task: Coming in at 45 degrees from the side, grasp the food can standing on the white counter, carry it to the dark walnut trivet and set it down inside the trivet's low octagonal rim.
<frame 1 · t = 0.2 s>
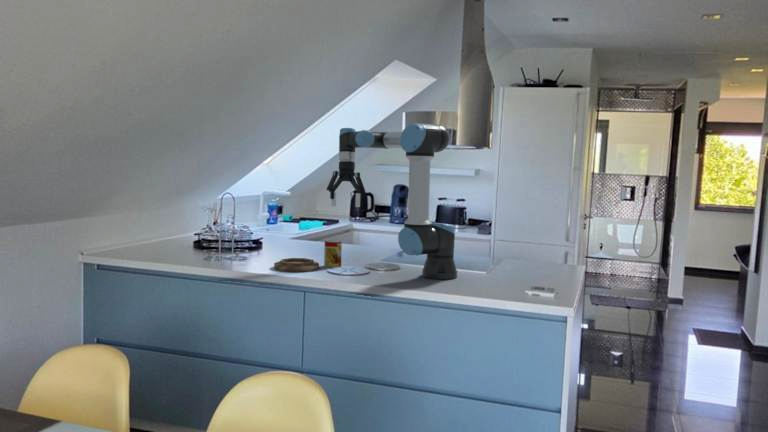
hand: (345, 206, 294), 27 cm above the countertop, tool pointing down, fingers open, 13 cm apart
hub trivet: (296, 268, 282), on the countertop
pottery mug: (441, 262, 310), on the countertop
canned food: (332, 266, 289), on the countertop
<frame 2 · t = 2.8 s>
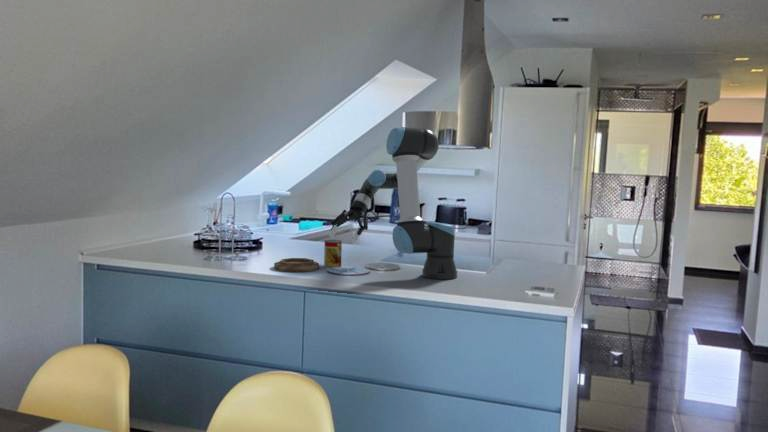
hand: (342, 238, 295), 12 cm above the countertop, tool tilted 45°, fingers open, 13 cm apart
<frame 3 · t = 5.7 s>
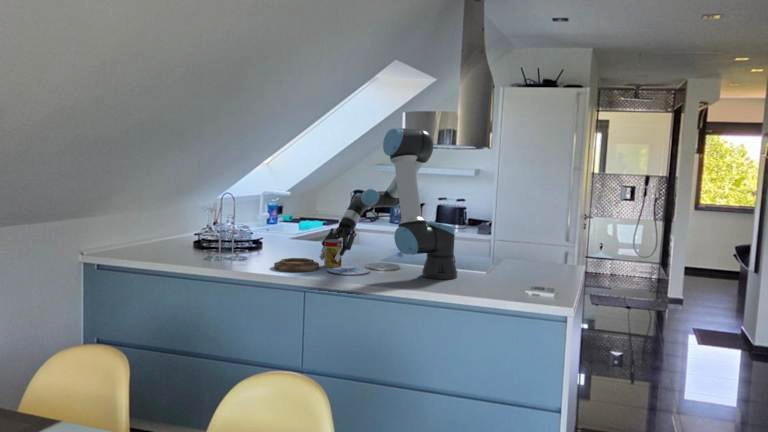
hand: (328, 259, 286), 4 cm above the countertop, tool tilted 45°, fingers closed on canned food, 8 cm apart
canned food: (332, 266, 289), on the countertop, touching gripper
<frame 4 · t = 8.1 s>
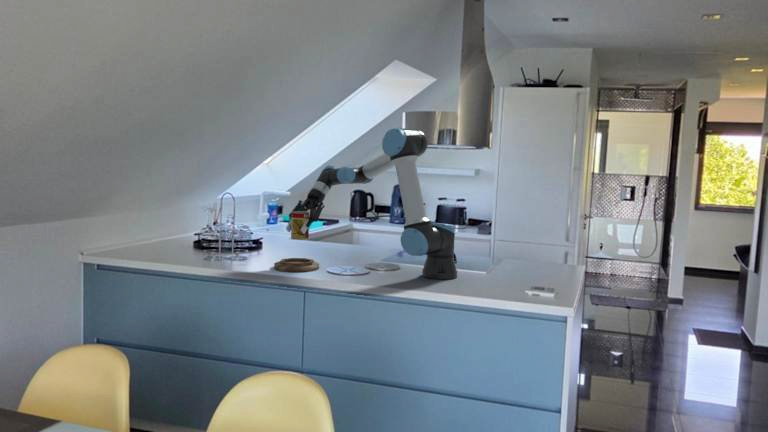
hand: (294, 231, 279), 17 cm above the countertop, tool tilted 45°, fingers closed on canned food, 8 cm apart
canned food: (299, 238, 283), point 13 cm above the countertop, touching gripper
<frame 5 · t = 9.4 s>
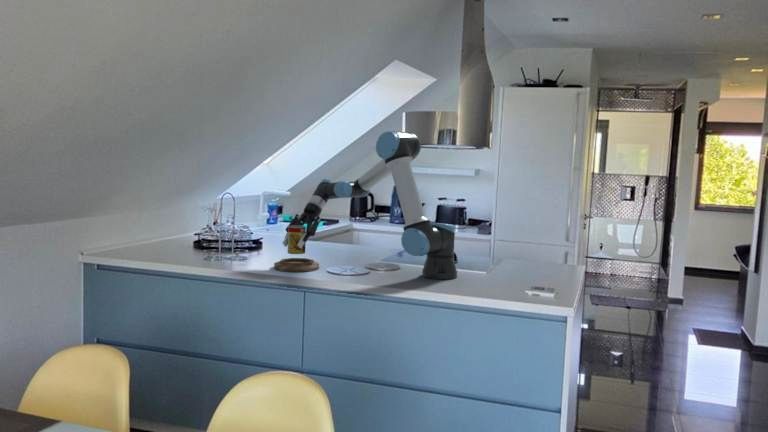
hand: (291, 245, 279), 11 cm above the countertop, tool tilted 45°, fingers closed on canned food, 8 cm apart
canned food: (296, 253, 282), point 7 cm above the countertop, touching gripper
when the fingers open (7 cm above the countertop, at t = 10.5 s): canned food drops 1 cm, resting on hub trivet.
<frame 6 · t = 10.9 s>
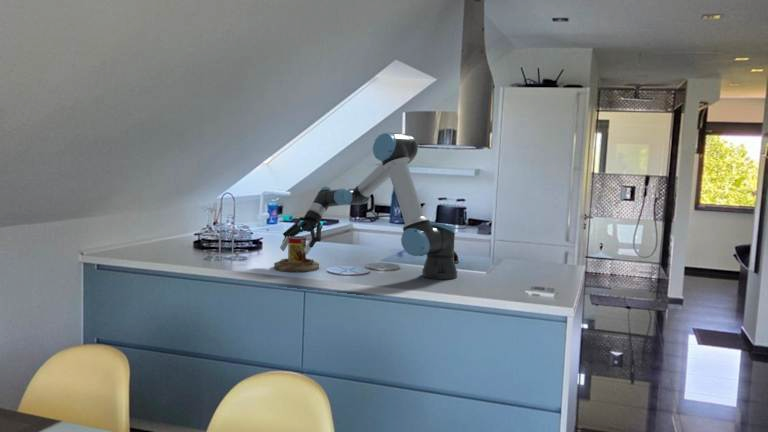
hand: (293, 250, 279), 8 cm above the countertop, tool tilted 45°, fingers open, 13 cm apart
canned food: (296, 264, 282), point 2 cm above the countertop, touching hub trivet
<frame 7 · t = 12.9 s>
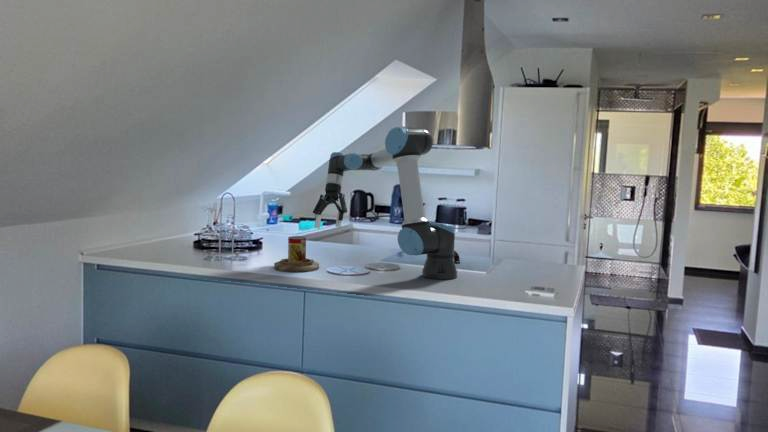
hand: (327, 227, 294), 17 cm above the countertop, tool tilted 20°, fingers open, 13 cm apart
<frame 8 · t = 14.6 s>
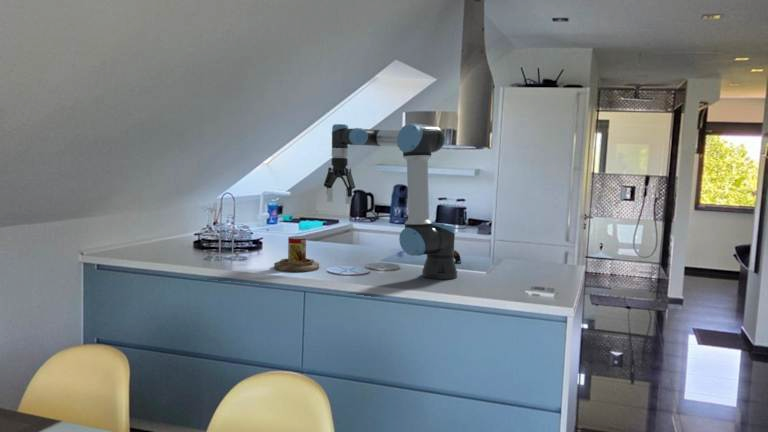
hand: (338, 202, 296), 29 cm above the countertop, tool pointing down, fingers open, 13 cm apart
at the end: canned food 0.1 cm from the hub trivet (horizontally); canned food tilted 0°; the gripper is holding nothing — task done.
